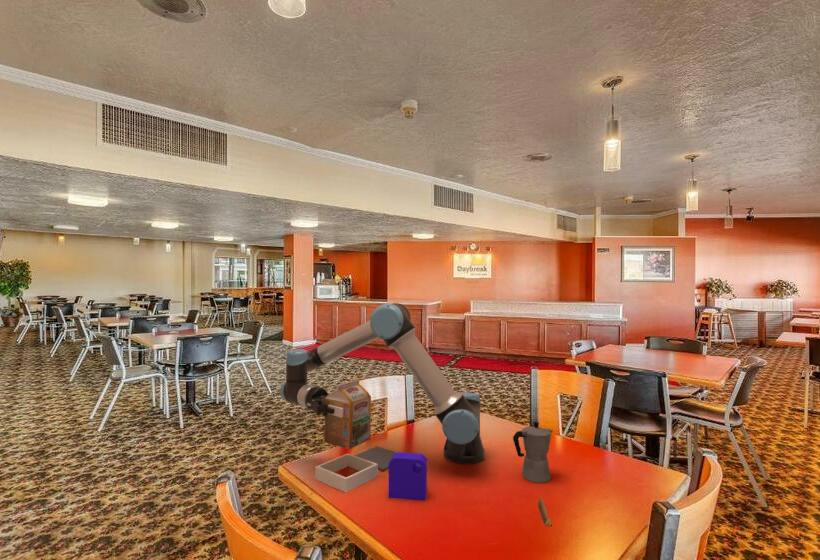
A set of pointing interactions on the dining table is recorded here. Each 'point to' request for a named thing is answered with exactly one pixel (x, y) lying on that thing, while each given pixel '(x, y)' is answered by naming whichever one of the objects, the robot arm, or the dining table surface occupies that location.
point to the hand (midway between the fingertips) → (356, 408)
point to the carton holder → (346, 484)
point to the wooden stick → (543, 512)
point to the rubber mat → (378, 457)
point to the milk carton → (348, 416)
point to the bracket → (408, 476)
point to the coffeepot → (534, 452)
